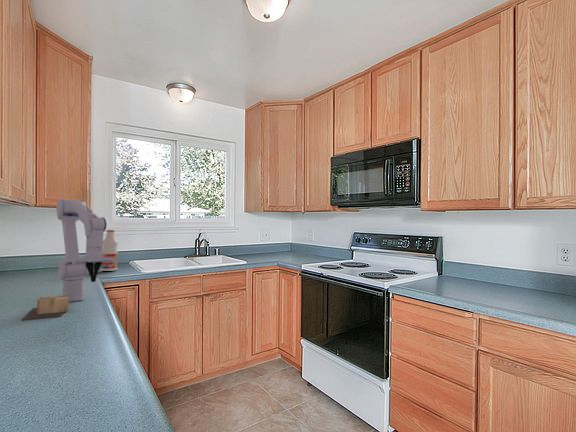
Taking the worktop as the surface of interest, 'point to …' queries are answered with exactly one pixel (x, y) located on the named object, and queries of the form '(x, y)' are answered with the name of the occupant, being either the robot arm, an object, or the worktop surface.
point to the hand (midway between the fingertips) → (93, 281)
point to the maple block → (52, 304)
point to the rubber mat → (40, 315)
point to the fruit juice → (110, 251)
